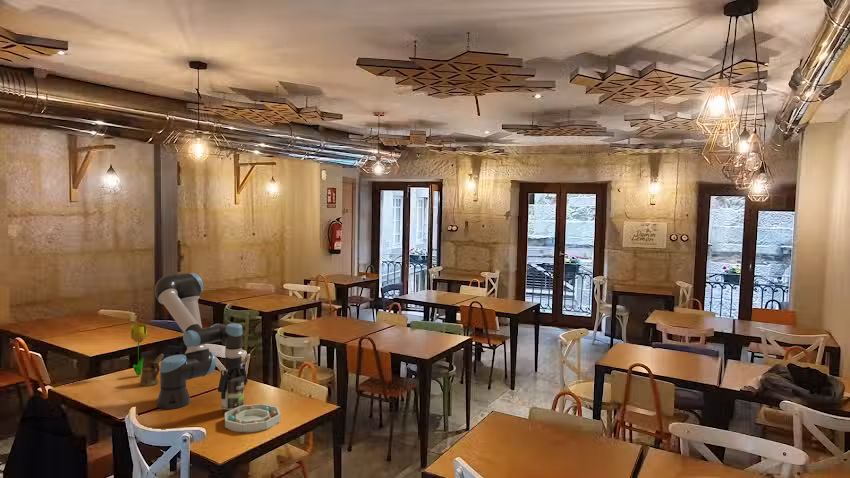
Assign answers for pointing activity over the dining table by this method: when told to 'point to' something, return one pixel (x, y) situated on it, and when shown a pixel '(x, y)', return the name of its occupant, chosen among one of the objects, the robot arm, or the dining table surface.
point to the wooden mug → (150, 372)
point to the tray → (252, 418)
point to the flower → (138, 336)
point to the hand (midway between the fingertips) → (232, 401)
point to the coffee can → (235, 392)
